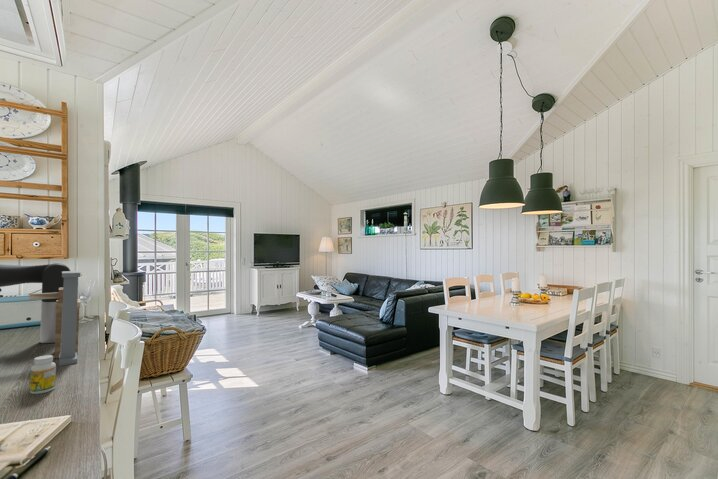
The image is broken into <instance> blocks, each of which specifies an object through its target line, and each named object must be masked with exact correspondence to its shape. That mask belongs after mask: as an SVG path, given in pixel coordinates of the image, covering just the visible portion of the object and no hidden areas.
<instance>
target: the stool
mask: <svg viewBox="0 0 718 479" xmlns="http://www.w3.org/2000/svg"><path fill="white" fill-rule="evenodd" d="M80 308H81V299H80V298H78V299H77V326H76V352H77V356H78V354H79V353H78V352H79V329H80V328H79V327H80ZM62 309H63V303H58V300H56V330H55V342H54V355H53V359H57V358H58V359H59V354H61V329H62Z"/></svg>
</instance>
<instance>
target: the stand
mask: <svg viewBox="0 0 718 479" xmlns="http://www.w3.org/2000/svg"><path fill="white" fill-rule="evenodd" d="M62 277H64V284H63V310H62V337H61V352H60V354H59V358H58V363H57V364H58V367H59V366H60V367H61V366H66V365H72V364H78V355H77V352H76V326H77V299H79V298H78V294H79V293H78V292H79V278H80V277H81V270H73V271H72V270H70V271H62Z"/></svg>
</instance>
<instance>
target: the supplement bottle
mask: <svg viewBox="0 0 718 479" xmlns="http://www.w3.org/2000/svg"><path fill="white" fill-rule="evenodd" d="M33 363H34V364H33V365H32V367H31V368H30V383H29V385H30V386H29V393H30V394H33V395H39V394H45V393H48V392H51V391H53V390H54V389H55V388H56V376H57V375H56V373H57V371H56V370H57V365H56V363H55V362H54V355H51V354H47V355H40V356H36V357H34V359H33Z"/></svg>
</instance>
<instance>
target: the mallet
mask: <svg viewBox="0 0 718 479" xmlns="http://www.w3.org/2000/svg"><path fill="white" fill-rule="evenodd" d="M28 295H29V296H28V297H29V298H28V299H29V301H34V300H36V301H37V300H42V299H54V298H58V303H63V287H61V288H59V292H56V293H42V292H41V293H39V292H38V293H29V294H28Z"/></svg>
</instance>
